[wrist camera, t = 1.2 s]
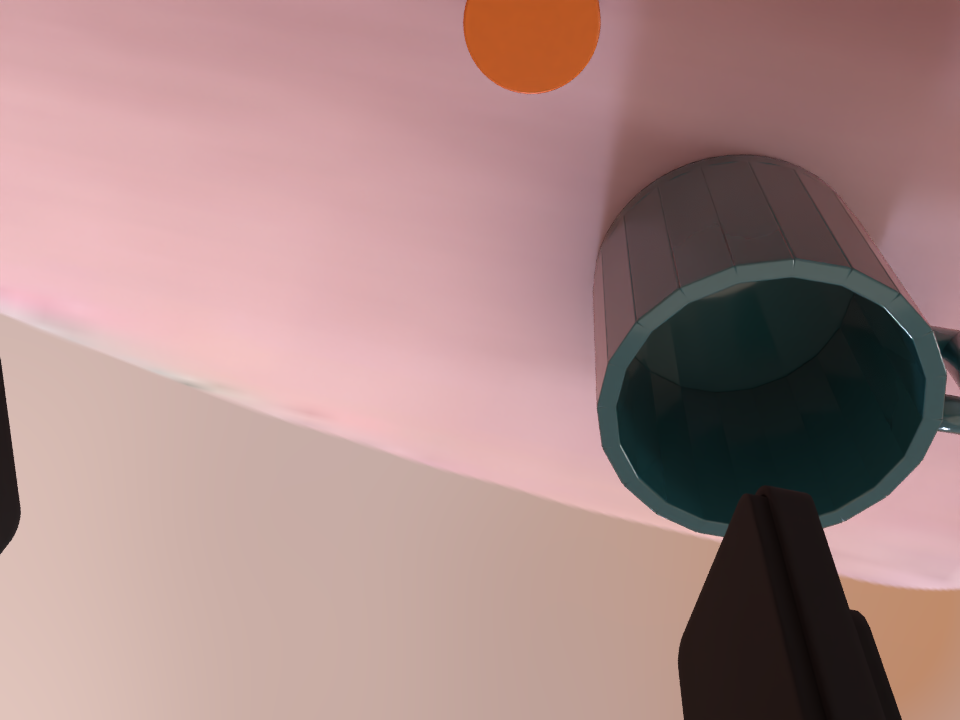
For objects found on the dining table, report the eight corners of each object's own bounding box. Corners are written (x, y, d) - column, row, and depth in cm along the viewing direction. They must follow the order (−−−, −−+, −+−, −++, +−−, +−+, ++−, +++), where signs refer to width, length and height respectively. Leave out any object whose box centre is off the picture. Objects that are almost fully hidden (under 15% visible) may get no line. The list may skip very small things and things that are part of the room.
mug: (571, 369, 38) (569, 511, 31) (626, 132, 33) (640, 232, 25) (898, 425, 38) (978, 580, 31) (1006, 196, 33) (1136, 315, 25)
